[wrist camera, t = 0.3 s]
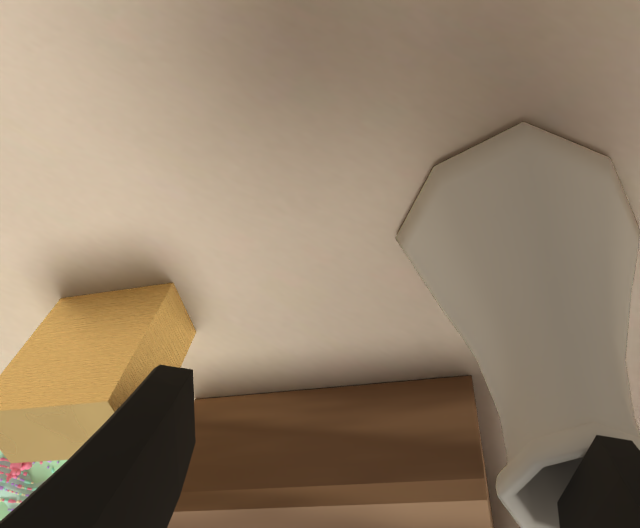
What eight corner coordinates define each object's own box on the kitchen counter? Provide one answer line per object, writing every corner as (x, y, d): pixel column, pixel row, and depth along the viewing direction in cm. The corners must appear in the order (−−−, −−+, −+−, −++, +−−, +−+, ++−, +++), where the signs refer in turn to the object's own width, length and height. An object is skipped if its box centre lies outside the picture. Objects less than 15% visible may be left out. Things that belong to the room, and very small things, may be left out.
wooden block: (196, 331, 24) (141, 454, 19) (89, 343, 25) (10, 463, 20) (173, 282, 22) (107, 401, 17) (60, 298, 23) (-30, 413, 19)
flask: (525, 74, 16) (643, 287, 8) (680, 224, 18) (898, 515, 10) (358, 235, 20) (324, 491, 12) (502, 345, 22) (558, 630, 14)
